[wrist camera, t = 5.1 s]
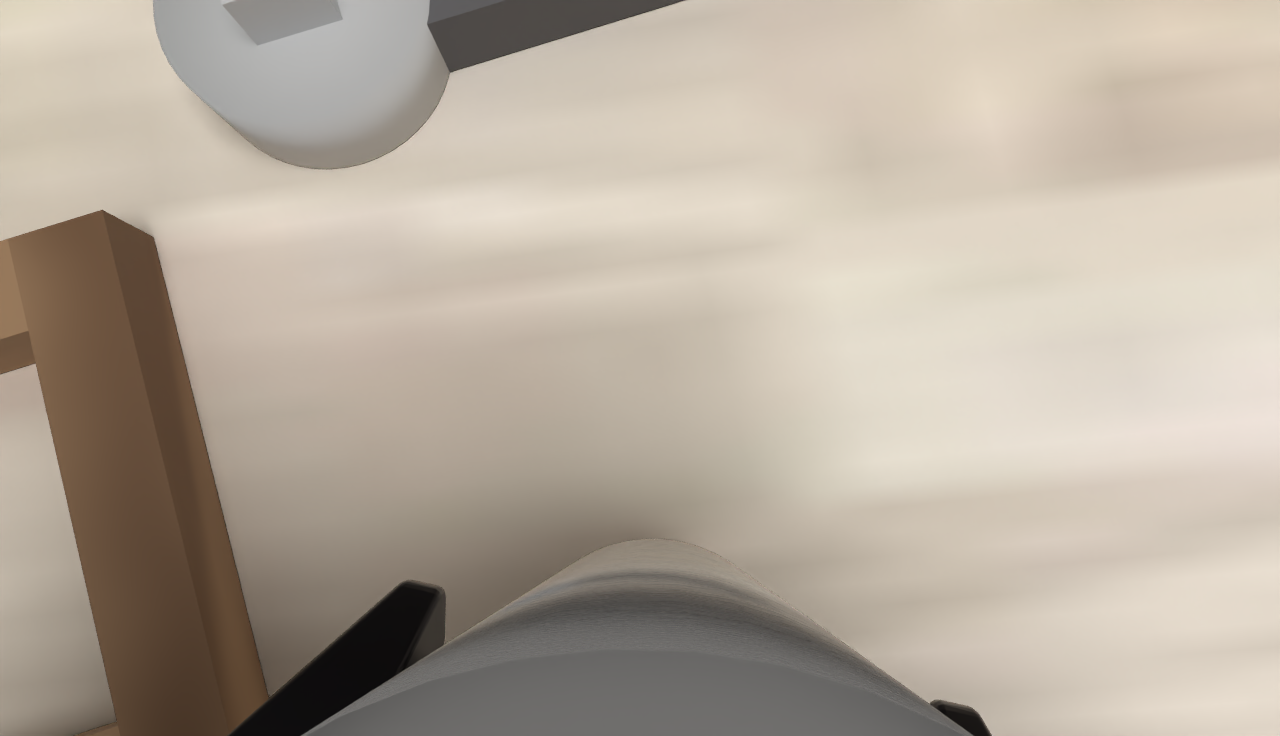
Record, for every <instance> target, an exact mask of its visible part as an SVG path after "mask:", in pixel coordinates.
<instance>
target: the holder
mask: <svg viewBox="0 0 1280 736" xmlns="http://www.w3.org/2000/svg"><path fill="white" fill-rule="evenodd" d="M34 363H36V367H37V371H38V376H39V380H40V384H41V389H42V393H43V398H44V402H45V406H46V411H47V415H48V420H49V424H50V429H51V433H52V437H53V442H54V446H55V451H56V455H57V459H58V464H59V468H60V473H61V477H62V481H63V486H64V490H65V495H66V499H67V503H68V508H69V512H70V517H71V521H72V526H73V530H74V534H75V539H76V543H77V548H78V552H79V556H80V561H81V565H82V570H83V574H84V578H85V583H86V587H87V592H88V596H89V600H90V605H91V609H92V614H93V618H94V623H95V627H96V631H97V636H98V640H99V645H100V649H101V653H102V658H103V662H104V667H105V671H106V675H107V680H108V684H109V689H110V693H111V697H112V702H113V706H114V711H115V715H116V720H117V722H114V723H111V724H108V725H105V726H102V727H98V728H95V729H92V730H89V731H86V732H83V733H80V734H77V735H74V736H227V735H228V734H229V733H230V732H231V731H233V730H234V729H235V728H236V727H237V726H238V725H239V724H240V723H242V722H243V721H244V720H245V719H246V718H247V717H248V716H250V715H251V714H252V713H253V712H254V711H255V710H256V709H258V708H259V707H260V706H261V705H262V704H263V703H264V702H265V701H267V700H268V699H269V698H268V694H267V690H266V686H265V682H264V678H263V674H262V670H261V666H260V662H259V658H258V654H257V650H256V646H255V642H254V638H253V634H252V630H251V626H250V622H249V618H248V614H247V610H246V606H245V602H244V598H243V594H242V590H241V586H240V582H239V578H238V574H237V570H236V566H235V562H234V558H233V554H232V550H231V546H230V542H229V538H228V534H227V530H226V526H225V522H224V518H223V514H222V510H221V506H220V502H219V498H218V494H217V490H216V486H215V482H214V478H213V474H212V470H211V466H210V462H209V458H208V454H207V450H206V446H205V442H204V438H203V434H202V430H201V426H200V422H199V418H198V414H197V410H196V406H195V402H194V398H193V394H192V390H191V386H190V382H189V378H188V374H187V370H186V366H185V362H184V358H183V354H182V350H181V346H180V342H179V338H178V334H177V330H176V326H175V322H174V318H173V314H172V310H171V306H170V302H169V298H168V294H167V290H166V286H165V282H164V278H163V274H162V270H161V266H160V262H159V258H158V254H157V250H156V246H155V242H154V238H153V237H152V236H150V235H148V234H147V233H145V232H143V231H141V230H139V229H137V228H135V227H133V226H132V225H130V224H128V223H126V222H124V221H122V220H120V219H118V218H117V217H115V216H113V215H111V214H109V213H107V212H105V211H103V210H100V211H97V212H94V213H90V214H87V215H84V216H81V217H77V218H74V219H71V220H68V221H64V222H61V223H58V224H55V225H51V226H48V227H45V228H42V229H38V230H35V231H32V232H29V233H25V234H22V235H19V236H16V237H12V238H9V239H6V240H3V241H0V374H2V373H5V372H8V371H11V370H15V369H18V368H21V367H24V366H27V365H31V364H34Z"/></svg>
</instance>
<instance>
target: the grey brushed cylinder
mask: <svg viewBox="0 0 1280 736" xmlns="http://www.w3.org/2000/svg"><path fill="white" fill-rule="evenodd" d="M301 736H973V735H972V734H971V733H969V732H968V731H966V730H965V729H964V728H962V727H961V726H959V725H958V724H957V723H955V722H954V721H952V720H951V719H950V718H948V717H947V716H945V715H944V714H943V713H941V712H940V711H938V710H937V709H936V708H934V707H933V706H931V705H930V704H929V703H927V702H926V701H924V700H923V699H922V698H920V697H919V696H917V695H916V694H915V693H913V692H912V691H910V690H909V689H908V688H906V687H905V686H903V685H902V684H901V683H899V682H898V681H896V680H895V679H894V678H892V677H891V676H889V675H888V674H886V673H885V672H884V671H882V670H881V669H879V668H878V667H877V666H875V665H874V664H872V663H871V662H870V661H868V660H867V659H865V658H864V657H863V656H861V655H860V654H858V653H857V652H856V651H854V650H853V649H851V648H850V647H849V646H847V645H846V644H844V643H843V642H842V641H840V640H839V639H837V638H836V637H835V636H833V635H832V634H830V633H829V632H828V631H826V630H825V629H823V628H822V627H821V626H819V625H818V624H816V623H815V622H814V621H812V620H811V619H809V618H808V617H807V616H805V615H804V614H802V613H801V612H800V611H798V610H797V609H795V608H794V607H793V606H791V605H790V604H788V603H787V602H786V601H784V600H783V599H781V598H780V597H779V596H777V595H776V594H774V593H773V592H772V591H770V590H769V589H767V588H766V587H765V586H763V585H762V584H760V583H759V582H758V581H756V580H755V579H753V578H752V577H751V576H749V575H748V574H746V573H745V572H744V571H742V570H741V569H739V568H738V567H737V566H735V565H734V564H732V563H730V562H729V561H727V560H726V559H724V558H722V557H721V556H719V555H717V554H715V553H713V552H711V551H708V550H706V549H704V548H701V547H699V546H695V545H692V544H688V543H685V542H680V541H674V540H668V539H638V540H629V541H624V542H620V543H616V544H612V545H609V546H606V547H604V548H601V549H599V550H596V551H594V552H592V553H590V554H588V555H586V556H584V557H583V558H581V559H579V560H577V561H575V562H574V563H572V564H571V565H569V566H568V567H566V568H564V569H563V570H561V571H560V572H558V573H557V574H555V575H553V576H552V577H550V578H549V579H547V580H546V581H544V582H542V583H541V584H539V585H538V586H536V587H535V588H533V589H531V590H530V591H528V592H527V593H525V594H523V595H522V596H520V597H519V598H517V599H516V600H514V601H512V602H511V603H509V604H508V605H506V606H505V607H503V608H501V609H500V610H498V611H497V612H495V613H494V614H492V615H490V616H489V617H487V618H486V619H484V620H483V621H481V622H479V623H478V624H476V625H475V626H473V627H471V628H470V629H468V630H467V631H465V632H464V633H462V634H460V635H459V636H457V637H456V638H454V639H453V640H451V641H449V642H448V643H446V644H445V645H443V646H442V647H440V648H438V649H437V650H435V651H434V652H432V653H431V654H429V655H427V656H426V657H424V658H423V659H421V660H420V661H418V662H416V663H415V664H413V665H412V666H410V667H408V668H407V669H405V670H404V671H402V672H401V673H399V674H397V675H396V676H394V677H393V678H391V679H390V680H388V681H386V682H385V683H383V684H382V685H380V686H379V687H377V688H375V689H374V690H372V691H371V692H369V693H368V694H366V695H364V696H363V697H361V698H360V699H358V700H357V701H355V702H353V703H352V704H350V705H349V706H347V707H345V708H344V709H342V710H341V711H339V712H338V713H336V714H334V715H333V716H331V717H330V718H328V719H327V720H325V721H323V722H322V723H320V724H319V725H317V726H316V727H314V728H312V729H311V730H309V731H308V732H306V733H305V734H303V735H301Z"/></svg>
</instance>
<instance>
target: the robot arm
mask: <svg viewBox="0 0 1280 736" xmlns="http://www.w3.org/2000/svg"><path fill="white" fill-rule="evenodd" d="M445 607H446V595H445V592H444V589H443V588H442V587H440V586H437V585H432V584H428V583H423V582H419V581H415V580H406V581H403V582H402V583H400V584H399V585H398V586H396V587H395V588H394V589H393V590H392V591H391V592H389V593H388V594H387V595H386V596H385V597H384V598H383V599H382V600H380V601H379V602H378V603H377V604H376V605H375V606H374V607H372V608H371V609H370V610H369V611H368V612H367V613H366V614H364V615H363V616H362V617H361V618H360V619H359V620H358V621H356V622H355V623H354V624H353V625H352V626H351V627H350V628H349V629H347V630H346V631H345V632H344V633H343V634H342V635H341V636H339V637H338V638H337V639H336V640H335V641H334V642H333V643H331V644H330V645H329V646H328V647H327V648H326V649H325V650H323V651H322V652H321V653H320V654H319V655H318V656H317V657H316V658H314V659H313V660H312V661H311V662H310V663H309V664H308V665H306V666H305V667H304V668H303V669H302V670H301V671H300V672H298V673H297V674H296V675H295V676H294V677H293V678H292V679H291V680H289V681H288V682H287V683H286V684H285V685H284V686H283V687H281V688H280V689H279V690H278V691H277V692H276V693H275V694H273V695H272V696H271V697H270V698H269V699H268V700H267V701H265V702H264V703H263V704H262V705H261V706H260V707H259V708H258V709H256V710H255V711H254V712H253V713H252V714H251V715H250V716H248V717H247V718H246V719H245V720H244V721H243V722H242V723H240V724H239V725H238V726H237V727H236V728H235V729H234V730H233V731H231V732H230V733H229V734H228V735H227V736H301V735H303V734H305V733H306V732H308V731H309V730H311V729H312V728H314V727H316V726H317V725H319V724H320V723H322V722H323V721H325V720H327V719H328V718H330V717H331V716H333V715H334V714H336V713H338V712H339V711H341V710H342V709H344V708H345V707H347V706H349V705H350V704H352V703H353V702H355V701H357V700H358V699H360V698H361V697H363V696H364V695H366V694H368V693H369V692H371V691H372V690H374V689H375V688H377V687H379V686H380V685H382V684H383V683H385V682H386V681H388V680H390V679H391V678H393V677H394V676H396V675H397V674H399V673H401V672H402V671H404V670H405V669H407V668H408V667H410V666H412V665H413V664H415V663H416V662H418V661H420V660H421V659H423V658H424V657H426V656H427V655H429V654H431V653H432V652H434V651H435V650H437V649H438V648H440V647H442V646H443V645H444V639H445ZM930 705H931V706H933V707H934V708H936V709H937V710H938V711H940V712H941V713H943V714H944V715H945V716H947V717H948V718H950V719H951V720H952V721H954V722H955V723H957V724H958V725H959V726H961V727H962V728H964V729H965V730H966V731H968V732H969V733H971V734H972V735H973V736H992V735H991V733H990V731H989V730H988V728H987V726H986V725H985V723H984V721H983V719H982V718H981V716H980V715H979V714H978V713H977V712H976V711H975V710H974V709H973V708H971V707H969V706H965V705H961V704H956V703H952V702H947V701H943V700H934V701H932V702H931V703H930Z"/></svg>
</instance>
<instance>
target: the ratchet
mask: <svg viewBox="0 0 1280 736" xmlns="http://www.w3.org/2000/svg"><path fill="white" fill-rule="evenodd" d="M680 1H683V0H153V10H154V21H155V26H156V32H157V35H158V38H159V41H160V44H161V47H162V50H163V52H164V54H165V56H166V58H167V60H168V62H169V64H170V65H171V67H172V68H173V69H174V71H175V72H176V74H177V75H178V77H179V78H180V79H181V80H182V81H183V82H184V83H185V84H186V85H187V86H188V87H189V89H190V90H191V91H193V92H194V93H195V94H196V95H197V96H198V97H199V98H200V99H202V100H203V101H204V102H205V103H206V104H207V105H208V106H209V107H211V108H212V109H213V110H214V111H215V112H216V113H217V114H218V115H220V116H221V117H222V118H223V119H224V120H225V121H226V122H227V123H228V124H230V125H231V126H232V127H233V128H234V129H235V130H236V131H237V132H239V133H240V134H241V135H242V136H243V137H244V138H245V139H247V140H248V141H249V142H250V143H252V144H253V145H254V146H255V147H257V148H258V149H260V150H261V151H263V152H265V153H266V154H268V155H270V156H271V157H274V158H276V159H278V160H281V161H283V162H286V163H289V164H293V165H297V166H300V167H307V168H314V169H335V168H344V167H350V166H354V165H359V164H363V163H366V162H368V161H371V160H374V159H376V158H379V157H381V156H383V155H385V154H386V153H388V152H390V151H392V150H394V149H395V148H397V147H398V146H400V145H401V144H402V143H404V142H405V141H407V140H408V139H409V138H410V137H411V136H412V135H413V134H414V133H415V132H417V131H418V130H419V129H420V127H421V126H422V125H423V124H424V123H425V122H426V120H427V119H428V118H429V117H430V115H431V114H432V112H433V111H434V109H435V108H436V106H437V104H438V102H439V100H440V98H441V96H442V94H443V92H444V89H445V86H446V83H447V80H448V77H449V73H450V72H451V71H455V70H458V69H461V68H464V67H468V66H471V65H474V64H477V63H481V62H484V61H487V60H491V59H494V58H497V57H500V56H504V55H507V54H510V53H513V52H517V51H520V50H523V49H526V48H530V47H533V46H536V45H539V44H543V43H546V42H549V41H552V40H556V39H559V38H562V37H565V36H569V35H572V34H575V33H579V32H582V31H585V30H588V29H592V28H595V27H598V26H601V25H605V24H608V23H611V22H614V21H618V20H621V19H624V18H627V17H631V16H634V15H637V14H640V13H644V12H647V11H650V10H653V9H657V8H660V7H663V6H666V5H670V4H673V3H676V2H680Z"/></svg>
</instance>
